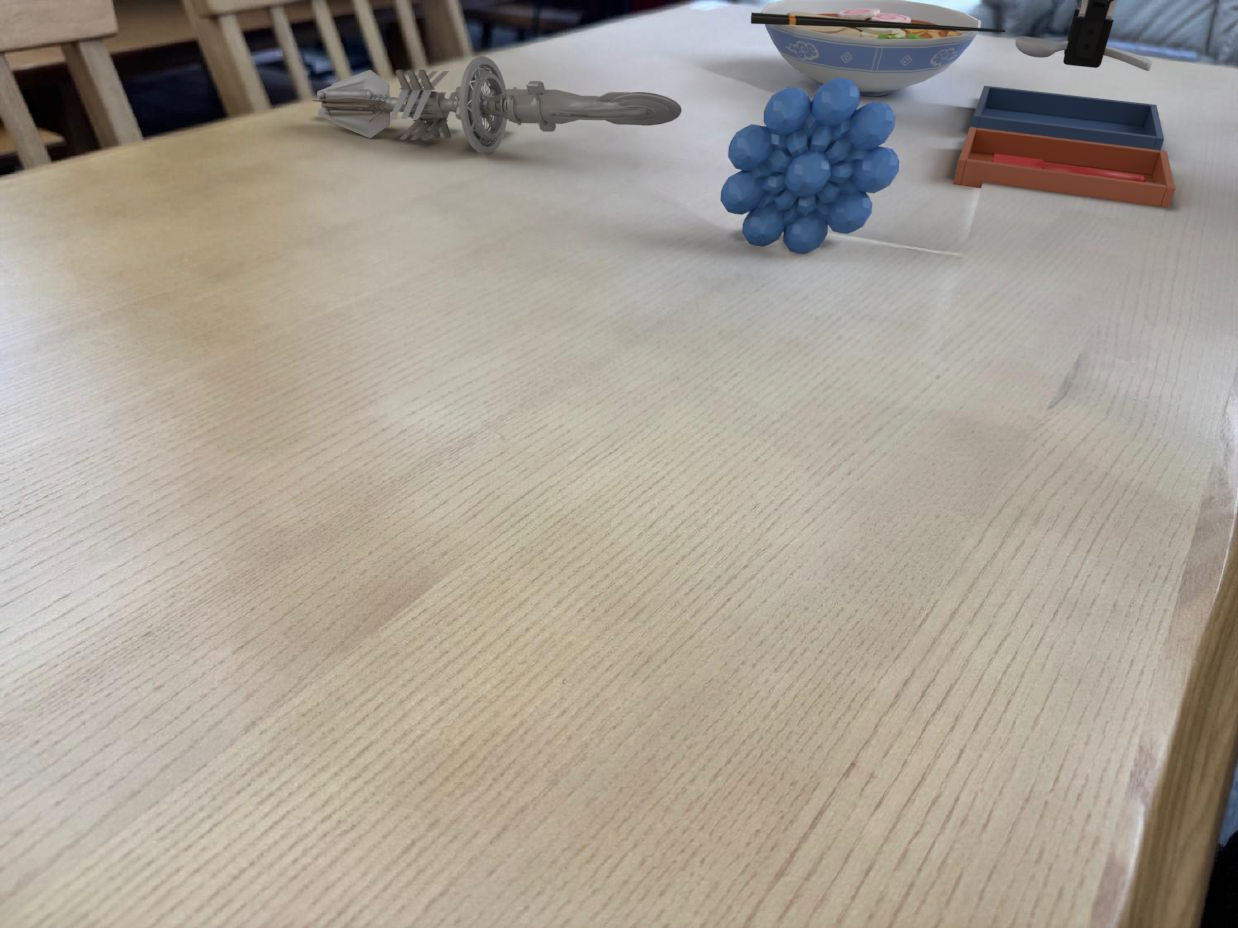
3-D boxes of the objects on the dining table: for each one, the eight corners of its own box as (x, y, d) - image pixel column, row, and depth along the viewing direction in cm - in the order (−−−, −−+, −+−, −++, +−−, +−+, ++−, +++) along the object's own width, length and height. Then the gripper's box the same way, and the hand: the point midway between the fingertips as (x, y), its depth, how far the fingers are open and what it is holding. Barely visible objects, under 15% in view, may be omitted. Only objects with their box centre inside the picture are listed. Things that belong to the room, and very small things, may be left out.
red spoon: (1142, 184, 83) (1146, 170, 82) (1143, 196, 81) (1148, 181, 80) (991, 164, 86) (995, 151, 86) (989, 175, 84) (992, 161, 83)
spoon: (1014, 49, 94) (1021, 26, 93) (1146, 74, 91) (1155, 52, 90) (1010, 55, 92) (1017, 33, 91) (1145, 82, 89) (1155, 58, 88)
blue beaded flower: (879, 238, 73) (911, 67, 66) (882, 275, 67) (917, 92, 61) (722, 224, 74) (736, 55, 68) (712, 259, 69) (727, 79, 62)
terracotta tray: (1157, 179, 85) (1167, 151, 84) (1164, 218, 78) (1175, 188, 76) (964, 153, 90) (969, 126, 89) (952, 188, 82) (958, 159, 81)
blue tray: (1148, 129, 98) (1156, 104, 96) (1155, 166, 88) (1164, 139, 87) (978, 109, 102) (984, 85, 101) (967, 142, 93) (973, 116, 92)
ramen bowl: (957, 69, 117) (972, -7, 112) (997, 124, 98) (1018, 36, 93) (744, 58, 119) (750, -16, 114) (743, 111, 100) (751, 24, 95)
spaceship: (658, 96, 74) (687, 34, 78) (276, 92, 86) (318, 38, 90) (675, 181, 80) (701, 119, 84) (317, 167, 92) (354, 113, 96)
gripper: (1206, -170, 74) (1127, 87, 84) (1189, -176, 86) (1122, 48, 97) (1098, -174, 76) (1034, 76, 86) (1096, -180, 88) (1041, 40, 99)
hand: (1081, 59), depth 91 cm, fingers closed on spoon, 2 cm apart
